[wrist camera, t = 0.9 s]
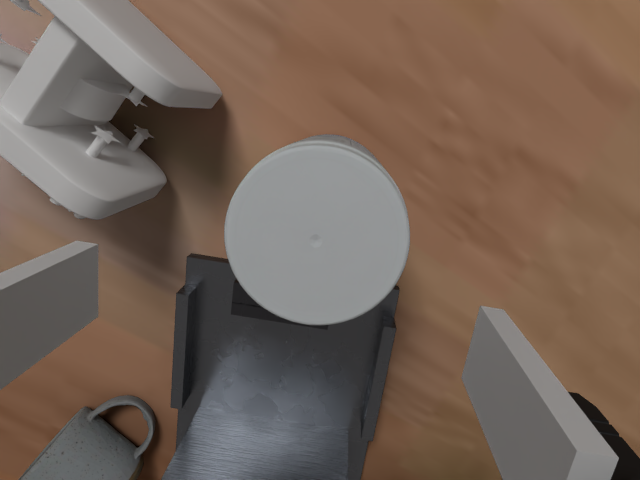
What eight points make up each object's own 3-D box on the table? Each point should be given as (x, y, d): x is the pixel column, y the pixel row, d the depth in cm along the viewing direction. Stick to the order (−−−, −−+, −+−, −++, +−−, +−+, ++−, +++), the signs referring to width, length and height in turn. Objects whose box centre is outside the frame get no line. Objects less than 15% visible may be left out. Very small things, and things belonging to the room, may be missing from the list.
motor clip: (191, 242, 37) (122, 297, 26) (400, 274, 37) (422, 345, 26) (176, 490, 45) (118, 617, 34) (349, 521, 44) (349, 659, 33)
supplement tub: (319, 270, 37) (300, 365, 23) (246, 184, 36) (177, 229, 22) (412, 201, 35) (453, 258, 21) (338, 105, 34) (329, 98, 19)
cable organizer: (240, 101, 34) (186, 94, 23) (161, 198, 37) (77, 234, 25) (85, -45, 32) (-57, -130, 21) (13, 69, 35) (-149, 47, 23)
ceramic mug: (119, 484, 45) (74, 555, 38) (54, 436, 44) (-4, 500, 37) (180, 422, 43) (146, 485, 35) (114, 370, 42) (64, 424, 34)
